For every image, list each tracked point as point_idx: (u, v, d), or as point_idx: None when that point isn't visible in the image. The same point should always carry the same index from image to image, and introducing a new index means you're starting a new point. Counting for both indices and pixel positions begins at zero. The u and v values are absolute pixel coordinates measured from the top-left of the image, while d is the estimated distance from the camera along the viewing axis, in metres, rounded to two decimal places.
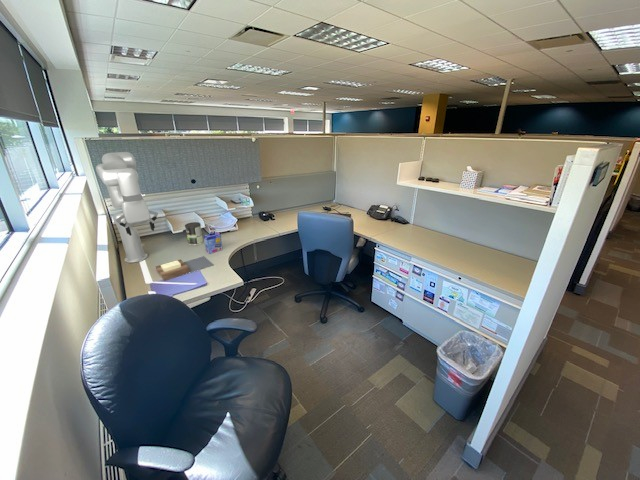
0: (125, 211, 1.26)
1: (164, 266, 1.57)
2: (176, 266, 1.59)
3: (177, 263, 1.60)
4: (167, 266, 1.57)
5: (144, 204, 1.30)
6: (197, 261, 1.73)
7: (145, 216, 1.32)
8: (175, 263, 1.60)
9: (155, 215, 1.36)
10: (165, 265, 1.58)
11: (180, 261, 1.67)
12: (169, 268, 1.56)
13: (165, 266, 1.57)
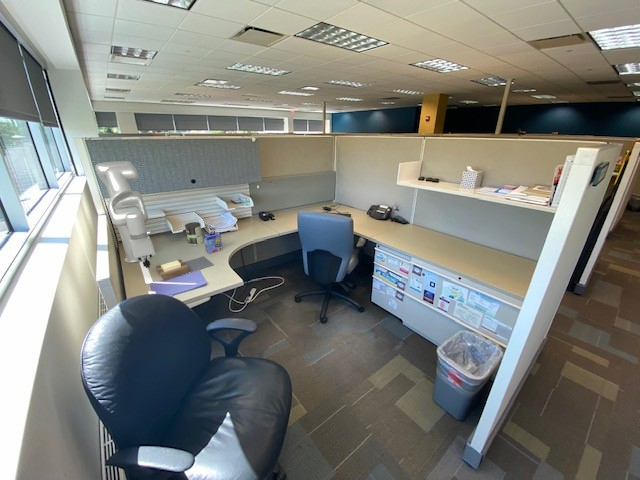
0: (132, 248, 1.41)
1: (164, 266, 1.57)
2: (176, 266, 1.59)
3: (177, 263, 1.60)
4: (167, 266, 1.57)
5: (149, 240, 1.46)
6: (197, 261, 1.73)
7: (150, 251, 1.47)
8: (175, 263, 1.60)
9: (152, 254, 1.50)
10: (165, 265, 1.58)
11: (180, 261, 1.67)
12: (169, 268, 1.56)
13: (165, 266, 1.57)
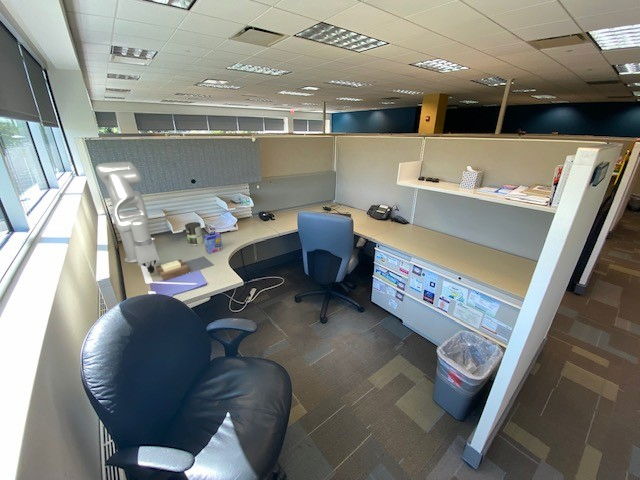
0: (137, 254, 1.44)
1: (164, 266, 1.57)
2: (176, 266, 1.59)
3: (177, 263, 1.60)
4: (167, 266, 1.57)
5: (153, 247, 1.48)
6: (197, 261, 1.73)
7: (154, 257, 1.50)
8: (175, 263, 1.60)
9: (156, 260, 1.53)
10: (165, 265, 1.58)
11: (180, 261, 1.67)
12: (169, 268, 1.56)
13: (165, 266, 1.57)
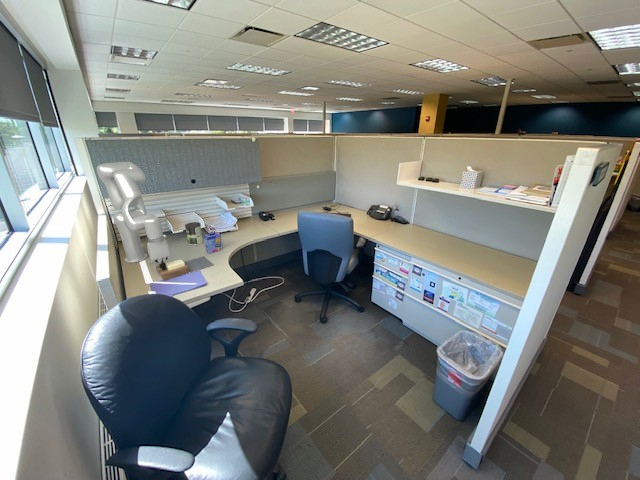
0: (150, 251, 1.48)
1: (168, 265, 1.58)
2: (180, 265, 1.60)
3: (181, 262, 1.62)
4: (171, 265, 1.58)
5: (165, 244, 1.52)
6: (197, 261, 1.73)
7: (166, 253, 1.54)
8: (179, 262, 1.61)
9: (168, 256, 1.56)
10: (169, 264, 1.59)
11: None
12: (173, 267, 1.58)
13: (169, 265, 1.58)
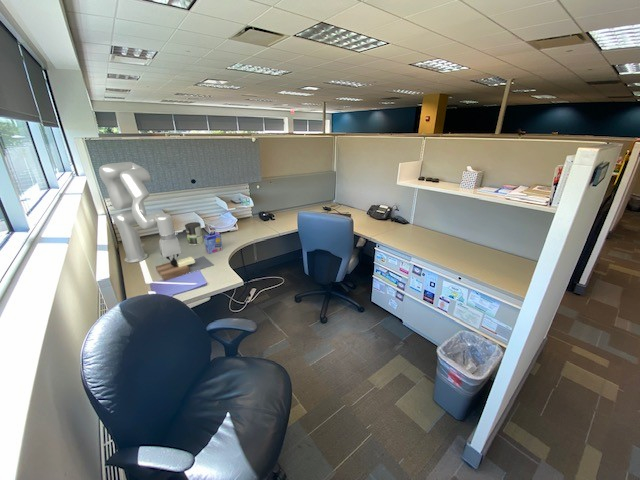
0: (162, 248, 1.52)
1: (179, 262, 1.62)
2: (190, 262, 1.64)
3: (191, 259, 1.65)
4: (182, 262, 1.62)
5: (177, 241, 1.56)
6: (197, 261, 1.73)
7: (177, 250, 1.57)
8: (189, 259, 1.65)
9: (179, 253, 1.60)
10: (180, 261, 1.63)
11: None
12: (184, 264, 1.61)
13: (180, 261, 1.62)
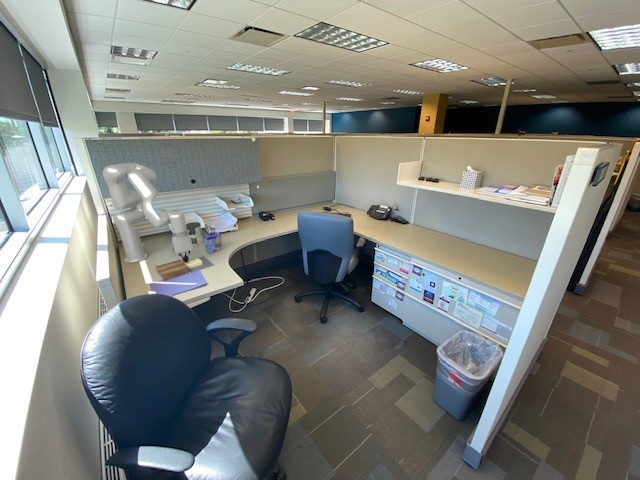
0: (175, 244, 1.56)
1: (187, 263, 1.66)
2: (198, 264, 1.68)
3: (199, 261, 1.69)
4: (190, 263, 1.66)
5: (189, 238, 1.60)
6: None
7: (189, 247, 1.62)
8: (197, 261, 1.69)
9: (191, 250, 1.64)
10: (188, 263, 1.67)
11: (180, 261, 1.67)
12: (192, 265, 1.65)
13: (188, 263, 1.66)
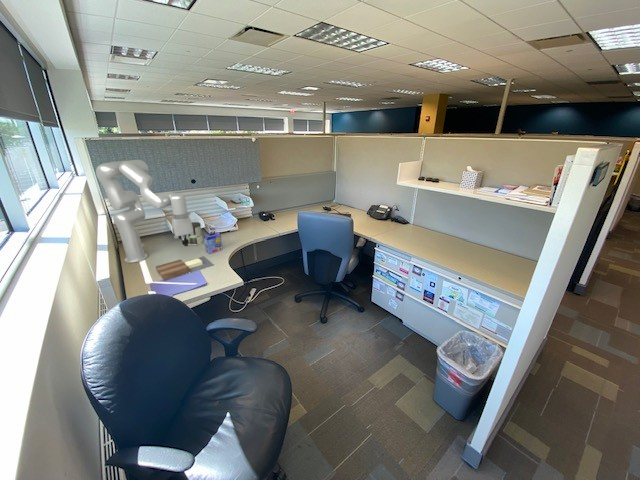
0: (175, 227, 1.53)
1: (187, 263, 1.66)
2: (198, 264, 1.68)
3: (199, 261, 1.69)
4: (190, 263, 1.66)
5: (189, 221, 1.58)
6: None
7: (189, 230, 1.59)
8: (197, 261, 1.69)
9: (191, 234, 1.62)
10: (188, 263, 1.67)
11: (180, 261, 1.67)
12: (192, 265, 1.65)
13: (188, 263, 1.66)
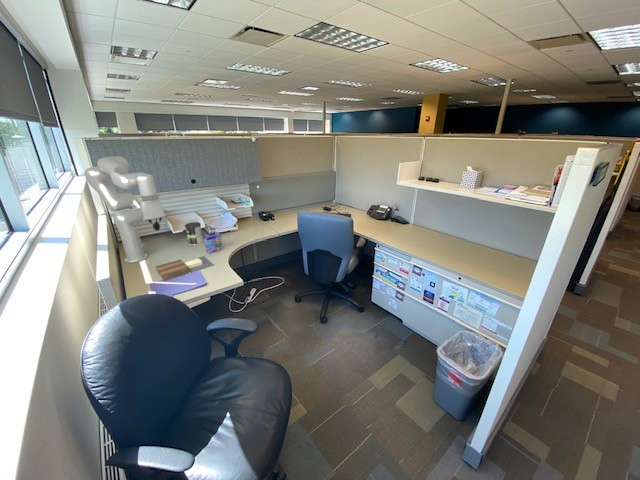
0: (143, 209, 1.45)
1: (187, 263, 1.66)
2: (198, 264, 1.68)
3: (199, 261, 1.69)
4: (190, 263, 1.66)
5: (159, 203, 1.50)
6: None
7: (160, 213, 1.51)
8: (197, 261, 1.69)
9: (162, 217, 1.54)
10: (188, 263, 1.67)
11: (180, 261, 1.67)
12: (192, 265, 1.65)
13: (188, 263, 1.66)
